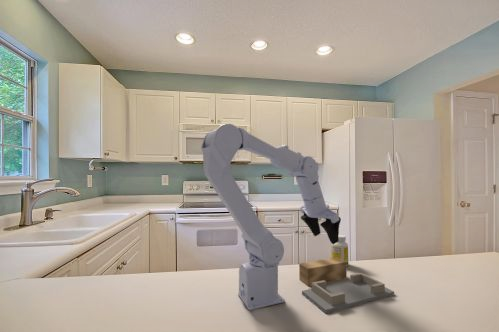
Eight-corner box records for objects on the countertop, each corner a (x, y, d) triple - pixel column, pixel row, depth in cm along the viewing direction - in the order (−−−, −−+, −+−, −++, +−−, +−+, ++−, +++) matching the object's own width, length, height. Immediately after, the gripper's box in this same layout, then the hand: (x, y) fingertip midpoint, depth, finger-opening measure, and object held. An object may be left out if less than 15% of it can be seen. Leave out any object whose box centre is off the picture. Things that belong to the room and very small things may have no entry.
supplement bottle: (345, 261, 81) (345, 234, 82) (350, 267, 76) (350, 238, 76) (329, 261, 82) (329, 233, 82) (334, 267, 76) (333, 237, 77)
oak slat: (307, 287, 63) (307, 268, 63) (299, 280, 67) (299, 263, 67) (346, 278, 68) (346, 261, 68) (336, 273, 72) (336, 257, 72)
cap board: (325, 313, 50) (325, 300, 51) (301, 294, 59) (301, 282, 59) (394, 294, 59) (394, 283, 59) (364, 280, 67) (364, 270, 67)
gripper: (341, 193, 60) (355, 239, 62) (307, 188, 74) (319, 226, 76) (321, 204, 58) (336, 251, 60) (290, 197, 71) (303, 236, 73)
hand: (325, 238), depth 68 cm, fingers open, 7 cm apart
